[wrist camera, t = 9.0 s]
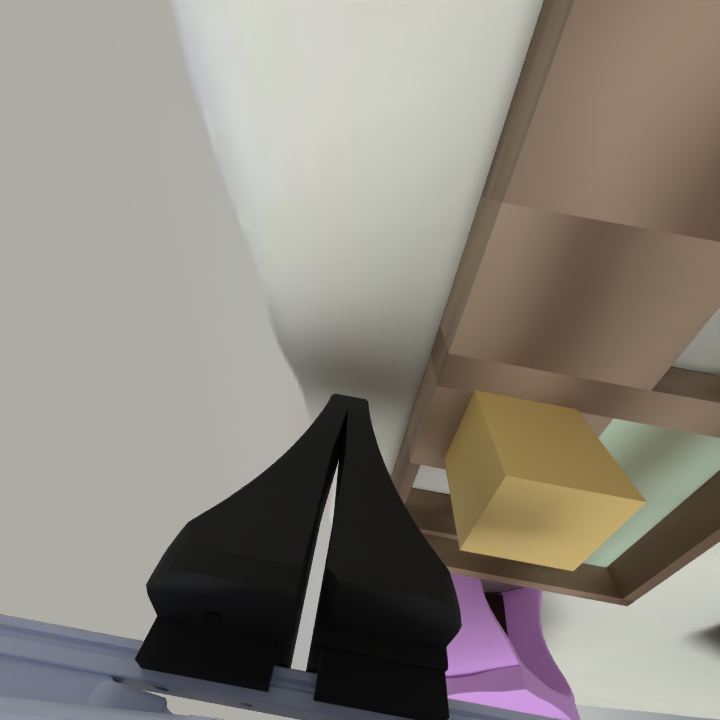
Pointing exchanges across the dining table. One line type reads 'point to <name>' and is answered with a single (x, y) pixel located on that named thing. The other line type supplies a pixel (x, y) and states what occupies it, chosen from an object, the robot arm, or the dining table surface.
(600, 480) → the block
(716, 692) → the dining table surface
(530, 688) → the toy chair
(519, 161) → the tray
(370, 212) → the dining table surface
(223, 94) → the dining table surface
